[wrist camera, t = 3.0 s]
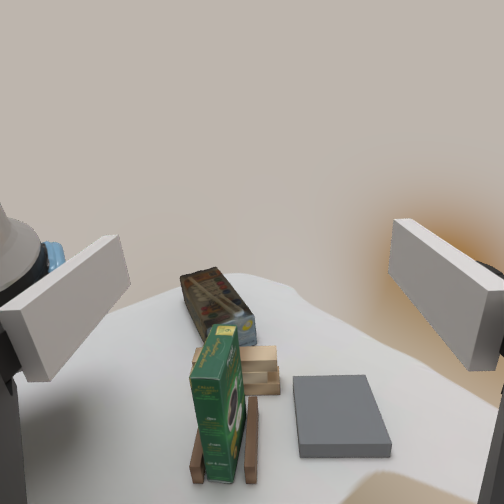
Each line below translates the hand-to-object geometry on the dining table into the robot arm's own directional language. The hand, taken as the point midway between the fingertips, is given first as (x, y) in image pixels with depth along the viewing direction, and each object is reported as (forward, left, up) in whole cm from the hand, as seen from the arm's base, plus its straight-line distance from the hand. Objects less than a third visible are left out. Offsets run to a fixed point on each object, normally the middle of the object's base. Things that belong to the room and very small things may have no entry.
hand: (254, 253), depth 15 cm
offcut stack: (-5, +17, -26) cm, 32 cm away
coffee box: (-5, +9, -26) cm, 28 cm away
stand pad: (+7, +12, -26) cm, 30 cm away
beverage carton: (-9, +32, -27) cm, 43 cm away
